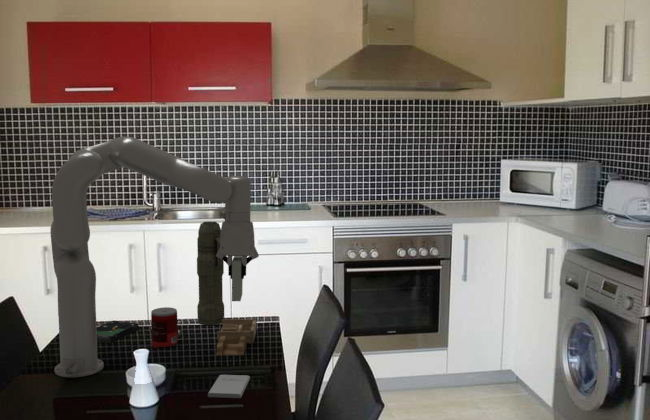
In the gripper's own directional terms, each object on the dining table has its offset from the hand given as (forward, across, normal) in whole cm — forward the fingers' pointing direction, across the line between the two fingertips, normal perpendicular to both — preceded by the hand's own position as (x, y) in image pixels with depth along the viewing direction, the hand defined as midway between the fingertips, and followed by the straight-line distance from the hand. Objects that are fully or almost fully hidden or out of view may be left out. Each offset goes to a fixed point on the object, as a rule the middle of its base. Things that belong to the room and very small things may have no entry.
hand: (237, 277), depth 195 cm
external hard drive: (+22, +1, -32) cm, 39 cm away
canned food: (+22, -22, +2) cm, 31 cm away
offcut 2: (+20, -3, +10) cm, 23 cm away
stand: (+21, -1, -6) cm, 22 cm away
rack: (+21, 0, +7) cm, 22 cm away
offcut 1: (+18, -3, +4) cm, 19 cm away
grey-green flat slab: (+6, 0, 0) cm, 6 cm away
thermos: (+22, -10, +23) cm, 33 cm away
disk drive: (+23, -41, +13) cm, 49 cm away
